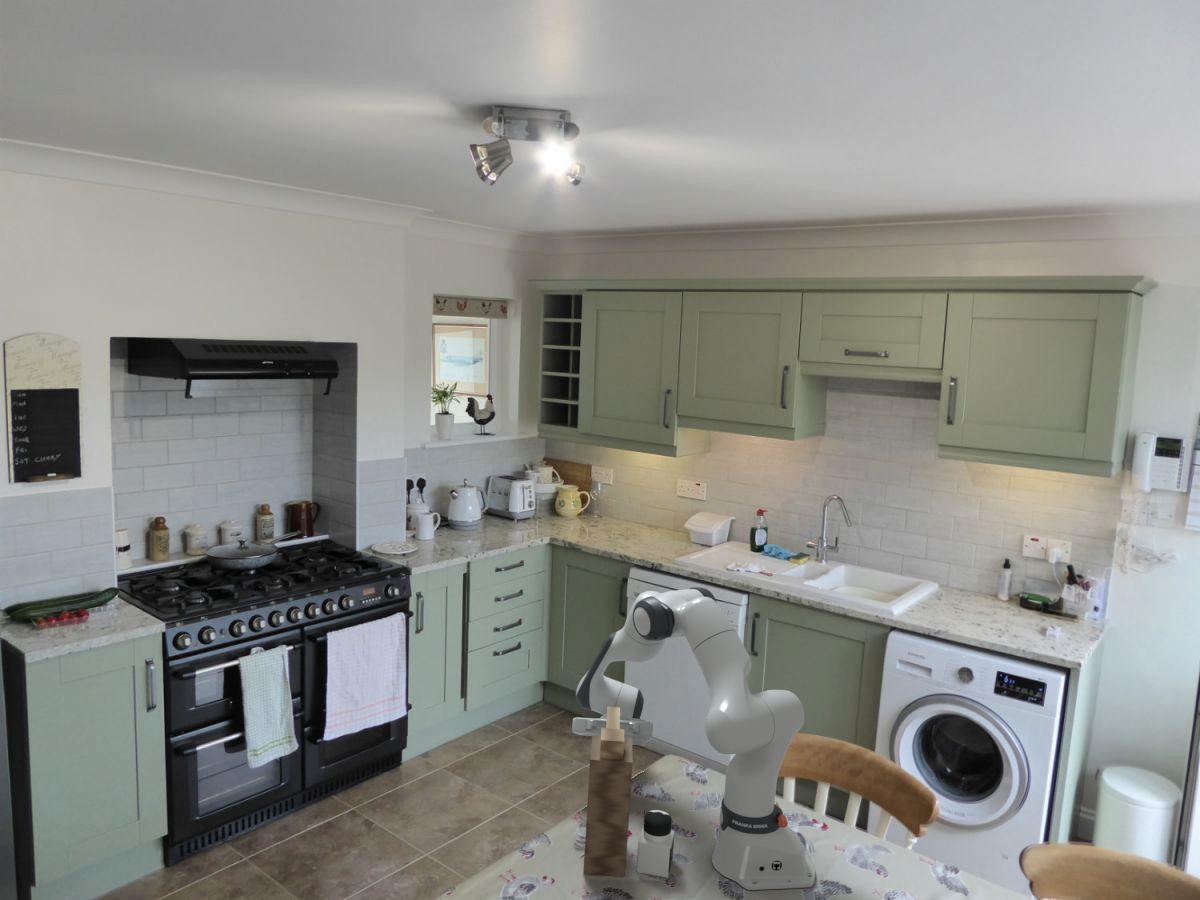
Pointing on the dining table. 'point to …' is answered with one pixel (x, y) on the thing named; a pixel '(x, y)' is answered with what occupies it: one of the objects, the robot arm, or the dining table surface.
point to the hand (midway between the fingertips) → (612, 724)
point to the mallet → (612, 736)
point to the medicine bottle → (656, 844)
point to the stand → (608, 812)
